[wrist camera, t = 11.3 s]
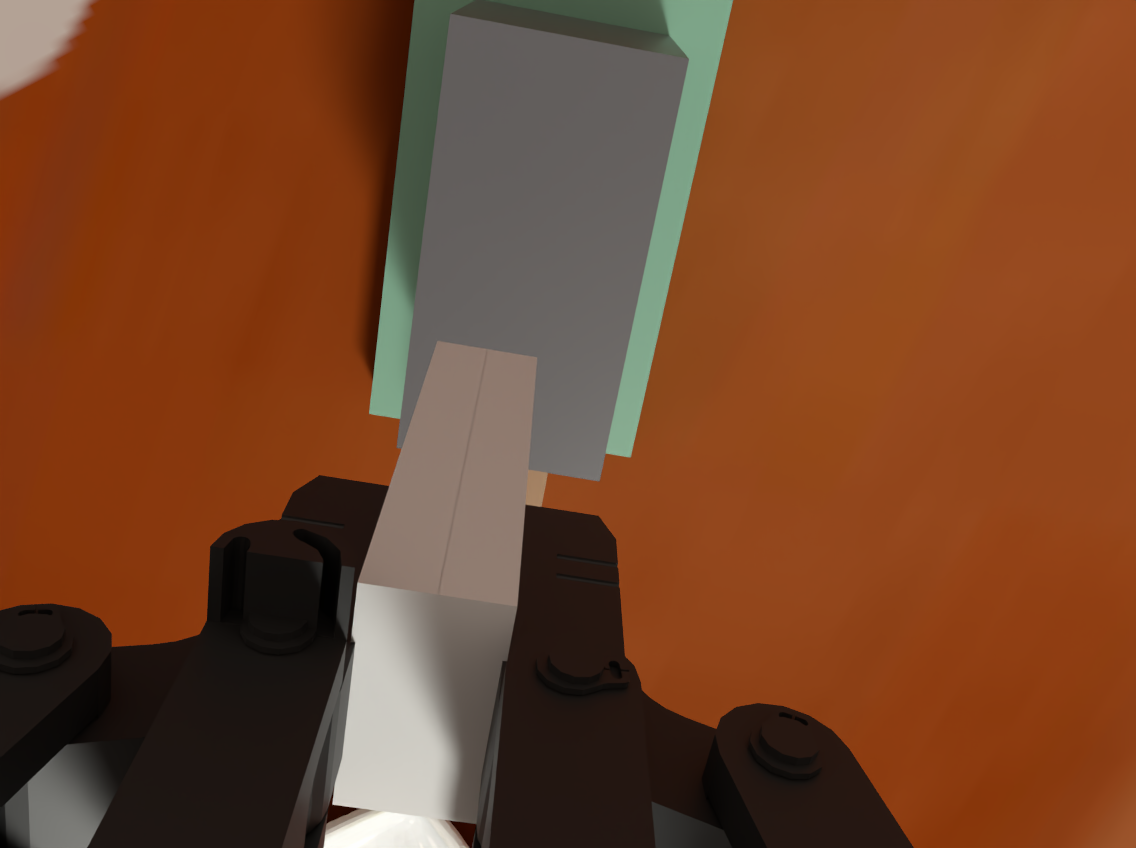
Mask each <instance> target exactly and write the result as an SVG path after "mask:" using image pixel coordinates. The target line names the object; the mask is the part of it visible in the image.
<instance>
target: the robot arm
mask: <svg viewBox="0 0 1136 848" xmlns="http://www.w3.org/2000/svg"><path fill="white" fill-rule="evenodd" d="M536 366H537V357H532V356H526V355H520V354H514V353H508V352H502V351H496V350H490V349H484V348H478V347H472V346H466V345H460V344H454V343H448V342H442V341H437V344H436V347H435V350H434V353H433V356H432V359H431V362H430V365H429V368H428V371H427V374H426V377H425V380H424V383H423V386H422V389H421V392H420V395H419V398H418V401H417V404H416V407H415V410H414V413H413V416H412V419H411V423H410V426H409V429H408V432H407V435H406V438H405V441H404V444H403V447H402V450H401V453H400V456H399V459H398V462H397V465H396V468H395V471H394V474H393V477H392V480H391V483H390V486H385V485H378V484H372V483H366V482H359V481H353V480H346V479H340V478H334V477H327V476H321V475H319V476H318V477H316V478H315V479H313V480H312V481H310V482H309V483H307V484H305V485H304V486H302V487H301V488H299V489H298V490H296V491H294V492H293V494H292V496H291V498H290V500H289V502H288V504H287V506H286V508H285V510H284V512H283V514H282V518H281V519H280V520H269V521H262V522H255V523H249V524H244V525H242V526H240V527H237V528H235V529H232V530H230V531H228V532H225V533H224V534H222V535H221V536H220V537H219V538H218V539H217V540H216V541H215V542H214V543H213V544H212V545H211V546H210V566H209V588H208V609H207V621H206V623H205V625H204V627H203V629H202V631H201V633H200V634H199V635H197V636H193V637H190V638H186V639H183V640H179V641H176V642H168V643H161V644H153V645H137V646H122V647H112V634H111V632H110V631H109V630H108V628H107V627H106V626H105V624H104V623H103V622H102V620H101V619H100V618H98V617H96V616H94V615H92V614H90V613H88V612H86V611H84V610H82V609H80V608H74V607H68V606H63V605H57V604H34V605H20V606H16V607H12V608H8V609H4V610H0V848H323V847H324V841H325V832H326V823H327V814H328V806H329V803H330V799H331V796H332V792H333V789H334V795H333V804H332V805H339V806H346V807H354V808H361V809H369V810H376V811H383V812H391V813H398V814H406V815H413V816H421V817H428V818H435V819H443V820H450V821H458V822H465V823H472V824H476V828H475V834H474V839H473V844H472V848H914V847H913V846H912V844H911V843H910V841H909V840H908V838H907V837H906V835H905V834H904V832H903V831H902V829H901V828H900V826H899V824H898V823H897V821H896V820H895V818H894V817H893V815H892V814H891V812H890V811H889V809H888V808H887V806H886V805H885V803H884V801H883V800H882V798H881V797H880V795H879V794H878V792H877V791H876V789H875V788H874V786H873V785H872V783H871V782H870V780H869V778H868V777H867V775H866V774H865V772H864V771H863V769H862V768H861V766H860V765H859V763H858V762H857V760H856V759H855V757H854V755H853V754H852V752H851V751H850V749H849V748H848V747H847V746H846V745H845V744H844V743H843V742H842V740H841V739H840V738H839V737H838V736H837V735H836V734H835V733H834V732H833V731H832V730H831V729H829V728H828V727H826V726H825V725H823V724H822V723H820V722H818V721H817V720H815V719H814V718H812V717H811V716H809V715H806V714H803V713H801V712H798V711H795V710H792V709H790V708H787V707H784V706H777V705H769V704H760V703H757V704H751V705H745V706H740V707H736V708H734V709H733V710H731V711H730V712H728V713H727V714H726V715H724V716H723V717H721V719H720V722H719V724H718V727H717V729H715V728H712V727H709V726H707V725H704V724H701V723H699V722H696V721H693V720H691V719H688V718H685V717H683V716H681V715H679V714H677V713H674V712H672V711H670V710H668V709H666V708H664V707H663V706H661V705H660V704H658V703H657V702H655V701H654V700H652V699H651V698H649V697H648V696H647V695H646V694H645V693H644V692H643V691H642V690H641V682H640V679H639V677H638V674H637V671H636V669H635V666H634V665H633V664H632V663H631V662H630V661H629V660H628V659H627V658H626V657H625V653H624V639H623V626H622V613H621V599H620V588H619V573H618V568H617V565H618V560H617V546H616V539H615V537H614V536H613V535H612V533H611V532H610V531H609V529H608V528H607V527H606V525H605V524H604V523H603V521H602V520H601V519H600V517H599V516H596V515H589V514H583V513H576V512H570V511H564V510H557V509H551V508H545V507H538V506H532V505H525V504H526V492H527V479H528V466H529V454H530V441H531V429H532V416H533V404H534V391H535V379H536ZM334 785H335V786H334Z"/></svg>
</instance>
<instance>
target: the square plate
mask: <svg viewBox="0 0 1136 848" xmlns="http://www.w3.org/2000/svg"><path fill="white" fill-rule="evenodd" d="M323 848H469V846H468V845H467V844H466V842H465V841H464V839H463V838H462V836H461V835H460V833H459V832H458V831H457V830H456V828H455V827H454V826H453V824H452V823H451V822H450V821H449V820H443V819H435V818H428V817H421V816H413V815H406V814H398V813H391V812H383V811H376V810H369V809H358V810H355V811H353V812H351V813H349V814H348V815H344V816H341V817H340V818H338V819H335V820H333V821H331V822H329V823H327V824H326V832H325V841H324V847H323Z"/></svg>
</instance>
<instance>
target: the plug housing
mask: <svg viewBox="0 0 1136 848" xmlns="http://www.w3.org/2000/svg"><path fill="white" fill-rule="evenodd" d="M688 63H689V58H688V57H687V56H686V54H685V53H684V52H683V51H682V50H681V49H680V47H679V46H678V45H677V44H676V43H675V41H674V40H673V39H672V38H671V37H670V36H669V35H664V34H659V33H654V32H648V31H643V30H638V29H632V28H627V27H622V26H617V25H611V24H606V23H601V22H596V21H590V20H585V19H580V18H575V17H569V16H564V15H559V14H554V13H548V12H543V11H538V10H533V9H527V8H522V7H517V6H512V5H506V4H501V3H496V2H491V1H485V0H475V1H473V2H471V3H469V4H468V5H466V6H464V7H462V8H460V9H458V10H456V11H454V12H452V13H451V14H450V20H449V28H448V36H447V44H446V52H445V60H444V68H443V76H442V85H441V93H440V101H439V109H438V117H437V125H436V133H435V141H434V149H433V157H432V166H431V174H430V182H429V190H428V198H427V206H426V214H425V222H424V230H423V238H422V247H421V255H420V263H419V271H418V279H417V287H416V295H415V303H414V311H413V319H412V328H411V336H410V344H409V352H408V360H407V368H406V376H405V384H404V392H403V400H402V409H401V417H400V425H399V433H398V441H397V448H401V449H402V447H403V444H404V441H405V438H406V435H407V432H408V429H409V426H410V423H411V419H412V416H413V413H414V410H415V407H416V404H417V401H418V398H419V395H420V392H421V389H422V386H423V383H424V380H425V377H426V374H427V371H428V368H429V365H430V362H431V359H432V356H433V353H434V350H435V347H436V344H437V341H442V342H448V343H454V344H460V345H466V346H472V347H478V348H484V349H490V350H496V351H502V352H508V353H514V354H520V355H526V356H532V357H537V366H536V379H535V391H534V404H533V416H532V429H531V441H530V454H529V466H528V479H527V492H526V504H525V505H532V506H538V507H541V506H542V501H543V496H544V490H545V485H546V480H547V474H548V473H552V474H558V475H564V476H570V477H576V478H582V479H588V480H594V481H600V476H601V472H602V467H603V462H604V458H605V453H606V448H607V443H608V439H609V434H610V429H611V425H612V420H613V415H614V411H615V406H616V401H617V397H618V392H619V387H620V382H621V378H622V373H623V368H624V364H625V359H626V354H627V350H628V345H629V340H630V335H631V331H632V326H633V321H634V317H635V312H636V307H637V303H638V298H639V293H640V288H641V284H642V279H643V274H644V270H645V265H646V260H647V256H648V251H649V246H650V241H651V237H652V232H653V227H654V223H655V218H656V213H657V209H658V204H659V199H660V194H661V190H662V185H663V180H664V176H665V171H666V166H667V162H668V157H669V152H670V147H671V143H672V138H673V133H674V129H675V124H676V119H677V115H678V110H679V105H680V100H681V96H682V91H683V86H684V82H685V77H686V72H687V68H688Z"/></svg>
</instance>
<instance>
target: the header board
mask: <svg viewBox="0 0 1136 848" xmlns="http://www.w3.org/2000/svg"><path fill="white" fill-rule="evenodd" d="M473 1H475V0H414V10H413V19H412V28H411V37H410V46H409V55H408V64H407V74H406V83H405V92H404V101H403V110H402V119H401V128H400V137H399V147H398V156H397V165H396V174H395V183H394V192H393V201H392V210H391V220H390V229H389V238H388V247H387V256H386V265H385V274H384V283H383V293H382V302H381V311H380V320H379V329H378V338H377V347H376V356H375V366H374V375H373V384H372V393H371V402H370V411H369V414H374V415H380V416H386V417H392V418H398V419H400V417H401V409H402V400H403V392H404V384H405V376H406V368H407V360H408V352H409V344H410V336H411V328H412V319H413V311H414V303H415V295H416V287H417V279H418V271H419V263H420V255H421V247H422V238H423V230H424V222H425V214H426V206H427V198H428V190H429V182H430V174H431V166H432V157H433V149H434V141H435V133H436V125H437V117H438V109H439V101H440V93H441V85H442V76H443V68H444V60H445V52H446V44H447V36H448V28H449V20H450V14H451V13H452V12H454V11H456V10H458V9H460V8H462V7H464V6H466V5H468V4H469V3H471V2H473ZM485 1H491V2H496V3H501V4H506V5H512V6H517V7H522V8H527V9H533V10H538V11H543V12H548V13H554V14H559V15H564V16H569V17H575V18H580V19H585V20H590V21H596V22H601V23H606V24H611V25H617V26H622V27H627V28H632V29H638V30H643V31H648V32H654V33H659V34H664V35H669V36H670V37H671V38H672V39H673V40H674V41H675V43H676V44H677V45H678V46H679V47H680V49H681V50H682V51H683V52H684V53H685V54H686V56H687V57H688V58H689V63H688V68H687V72H686V77H685V82H684V86H683V91H682V96H681V100H680V105H679V110H678V115H677V119H676V124H675V129H674V133H673V138H672V143H671V147H670V152H669V157H668V162H667V166H666V171H665V176H664V180H663V185H662V190H661V194H660V199H659V204H658V209H657V213H656V218H655V223H654V227H653V232H652V237H651V241H650V246H649V251H648V256H647V260H646V265H645V270H644V274H643V279H642V284H641V288H640V293H639V298H638V303H637V307H636V312H635V317H634V321H633V326H632V331H631V335H630V340H629V345H628V350H627V354H626V359H625V364H624V368H623V373H622V378H621V382H620V387H619V392H618V397H617V401H616V406H615V411H614V415H613V420H612V425H611V429H610V434H609V439H608V443H607V448H606V453H607V454H613V455H619V456H625V457H631V453H632V449H633V444H634V440H635V435H636V431H637V426H638V422H639V417H640V413H641V409H642V404H643V400H644V395H645V391H646V386H647V382H648V377H649V373H650V368H651V364H652V359H653V355H654V350H655V346H656V342H657V337H658V333H659V328H660V324H661V319H662V315H663V310H664V306H665V301H666V297H667V292H668V288H669V284H670V279H671V275H672V270H673V266H674V261H675V257H676V252H677V248H678V243H679V239H680V234H681V230H682V225H683V221H684V217H685V212H686V208H687V203H688V199H689V194H690V190H691V185H692V181H693V176H694V172H695V167H696V163H697V159H698V154H699V150H700V145H701V141H702V136H703V132H704V127H705V123H706V118H707V114H708V109H709V105H710V100H711V96H712V92H713V87H714V83H715V78H716V74H717V69H718V65H719V60H720V56H721V51H722V47H723V42H724V38H725V34H726V29H727V25H728V20H729V16H730V11H731V7H732V2H733V0H485Z"/></svg>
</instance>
